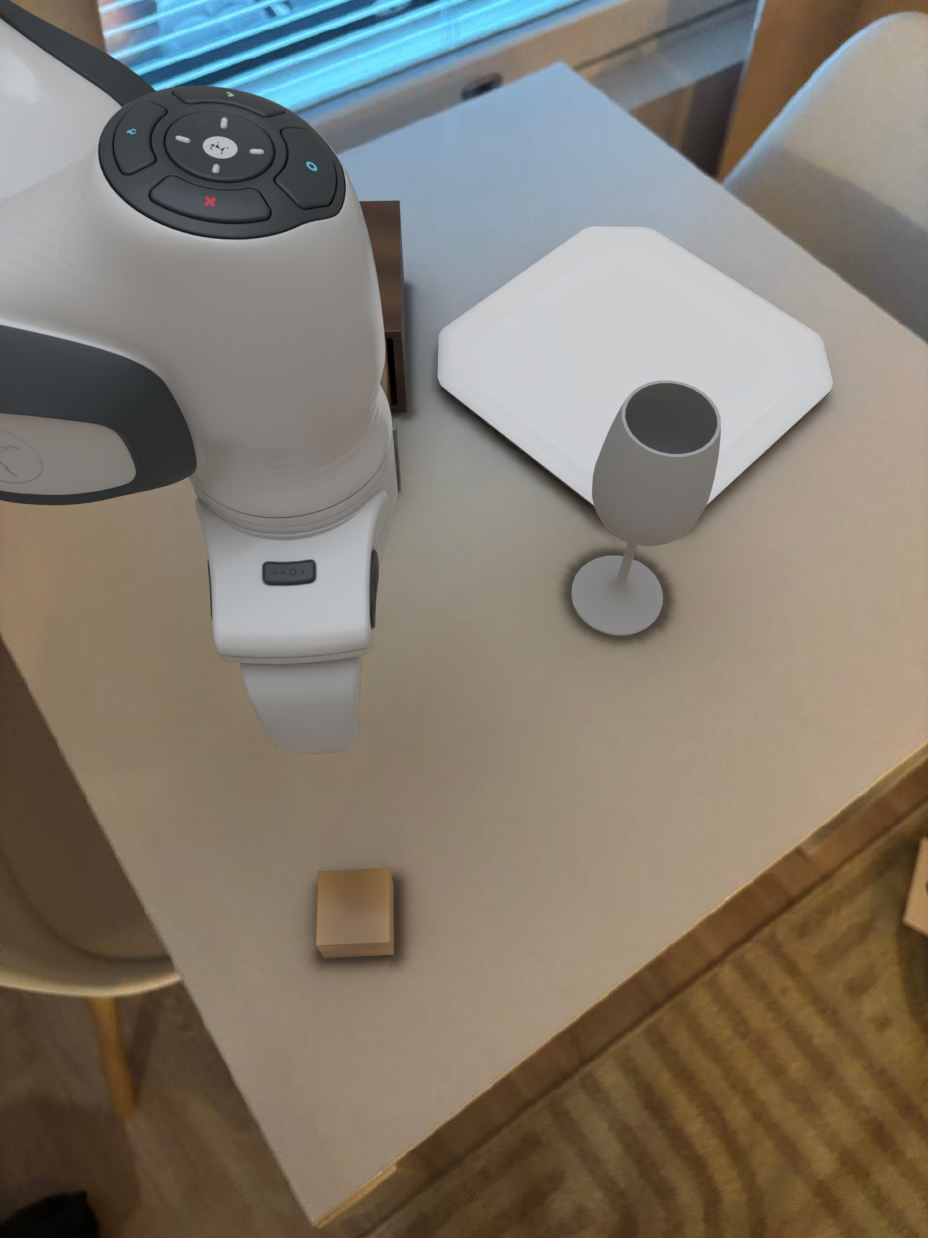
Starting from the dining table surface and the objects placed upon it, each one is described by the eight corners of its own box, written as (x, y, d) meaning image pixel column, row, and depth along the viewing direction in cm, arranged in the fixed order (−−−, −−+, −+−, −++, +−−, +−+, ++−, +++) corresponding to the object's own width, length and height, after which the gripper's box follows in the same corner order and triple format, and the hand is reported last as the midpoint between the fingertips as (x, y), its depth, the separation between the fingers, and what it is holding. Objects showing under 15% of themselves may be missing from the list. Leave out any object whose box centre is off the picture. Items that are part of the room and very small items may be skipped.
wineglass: (638, 543, 77) (697, 356, 58) (681, 620, 73) (759, 447, 55) (553, 571, 75) (586, 388, 57) (593, 651, 72) (642, 484, 53)
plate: (613, 221, 95) (616, 202, 93) (854, 376, 85) (863, 359, 84) (403, 371, 85) (402, 353, 83) (650, 566, 75) (655, 551, 74)
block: (324, 958, 61) (315, 946, 57) (326, 887, 63) (317, 871, 59) (394, 955, 61) (390, 942, 57) (393, 884, 63) (389, 868, 59)
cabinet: (407, 412, 83) (402, 330, 74) (251, 416, 82) (228, 334, 74) (404, 286, 90) (399, 199, 82) (261, 289, 90) (242, 202, 81)
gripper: (238, 308, 47) (282, 478, 59) (209, 683, 37) (269, 795, 49) (365, 303, 47) (383, 474, 59) (371, 675, 37) (391, 788, 49)
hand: (332, 622), depth 54 cm, fingers open, 8 cm apart
